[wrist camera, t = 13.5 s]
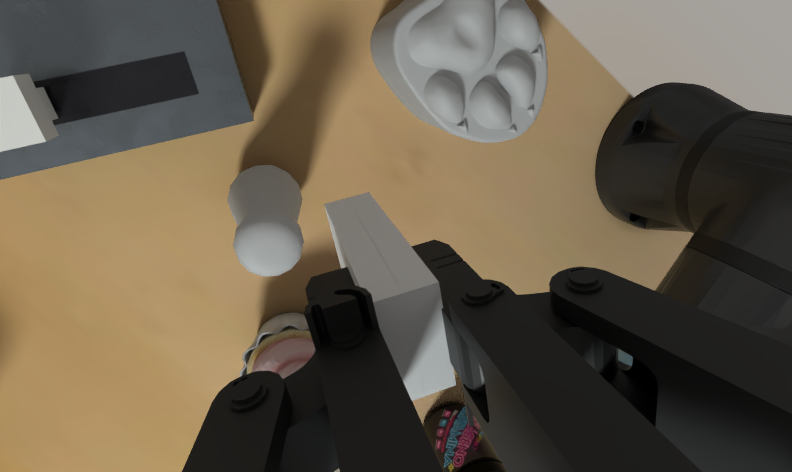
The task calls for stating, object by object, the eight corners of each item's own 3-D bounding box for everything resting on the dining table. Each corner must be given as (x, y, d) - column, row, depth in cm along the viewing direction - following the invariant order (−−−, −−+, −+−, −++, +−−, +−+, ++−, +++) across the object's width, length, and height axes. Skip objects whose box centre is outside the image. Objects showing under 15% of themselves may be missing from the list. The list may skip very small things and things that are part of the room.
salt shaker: (220, 166, 39) (206, 217, 27) (289, 151, 40) (304, 194, 28) (241, 230, 41) (236, 303, 29) (306, 214, 42) (325, 278, 31)
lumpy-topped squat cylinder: (445, -48, 38) (495, -73, 30) (529, 77, 43) (589, 84, 36) (353, 46, 38) (378, 46, 30) (448, 157, 44) (489, 180, 36)
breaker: (50, 71, 30) (12, 75, 25) (77, 127, 31) (46, 141, 26) (-20, 84, 29) (-72, 92, 24) (11, 141, 30) (-33, 159, 26)
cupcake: (339, 369, 49) (358, 440, 40) (246, 385, 47) (244, 464, 38) (335, 290, 46) (355, 349, 37) (234, 303, 43) (229, 369, 34)
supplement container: (482, 405, 57) (527, 475, 48) (456, 448, 58) (494, 524, 49) (436, 393, 54) (474, 466, 45) (410, 439, 56) (441, 518, 46)
